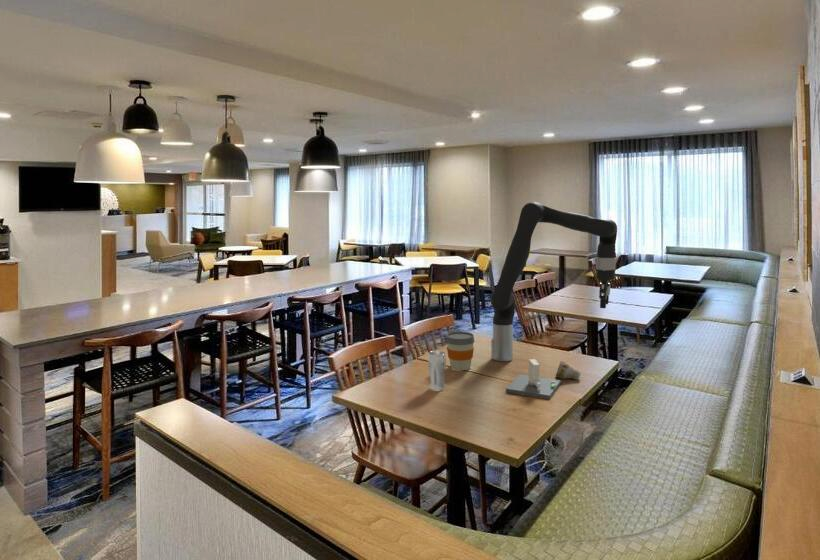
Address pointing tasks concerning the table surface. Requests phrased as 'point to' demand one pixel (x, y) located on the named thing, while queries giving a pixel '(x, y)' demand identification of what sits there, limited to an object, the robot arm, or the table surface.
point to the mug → (567, 371)
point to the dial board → (534, 387)
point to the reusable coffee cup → (460, 349)
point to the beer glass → (437, 369)
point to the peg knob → (534, 373)
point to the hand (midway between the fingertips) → (604, 306)
